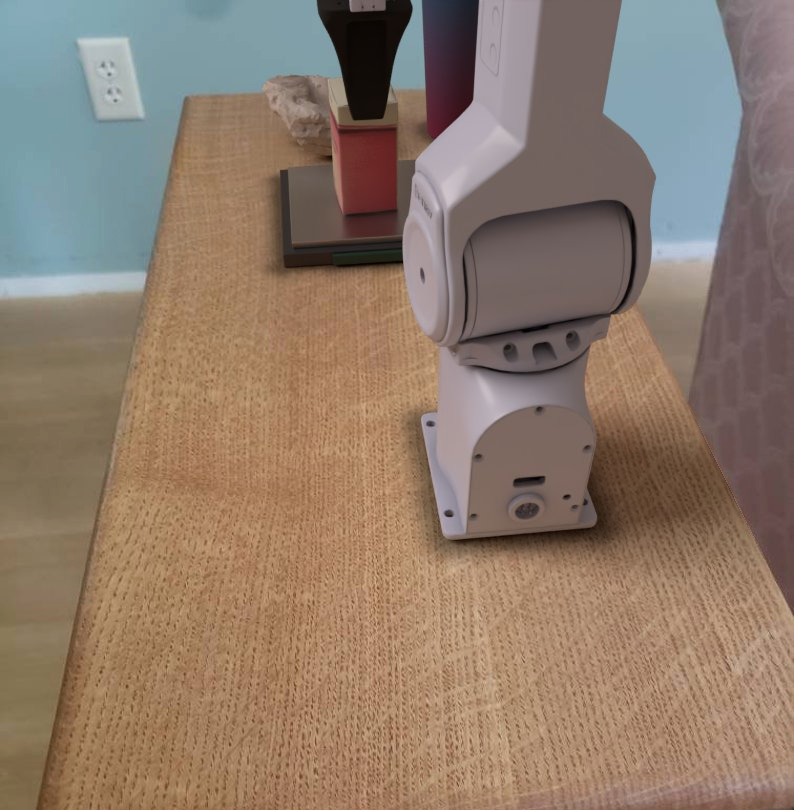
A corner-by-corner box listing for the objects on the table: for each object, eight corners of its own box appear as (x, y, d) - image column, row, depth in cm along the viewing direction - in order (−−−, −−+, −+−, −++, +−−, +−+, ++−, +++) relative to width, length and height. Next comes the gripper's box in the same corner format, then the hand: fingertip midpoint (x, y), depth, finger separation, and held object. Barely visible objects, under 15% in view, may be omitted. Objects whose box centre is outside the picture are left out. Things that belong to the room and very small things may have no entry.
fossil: (349, 72, 77) (386, 62, 68) (355, 151, 79) (392, 151, 71) (253, 77, 74) (279, 67, 66) (263, 159, 77) (289, 159, 68)
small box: (333, 185, 66) (325, 76, 60) (388, 179, 66) (386, 71, 60) (342, 217, 62) (335, 105, 57) (400, 211, 63) (399, 99, 57)
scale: (465, 258, 61) (466, 239, 60) (284, 270, 60) (282, 251, 59) (439, 171, 70) (440, 153, 69) (280, 181, 69) (278, 163, 68)
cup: (465, 155, 72) (476, -54, 61) (401, 134, 75) (400, -69, 64) (509, 126, 76) (526, -75, 65) (446, 108, 79) (452, -89, 67)
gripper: (280, -178, 53) (301, 57, 63) (285, -123, 44) (308, 144, 54) (393, -182, 54) (395, 52, 64) (422, -129, 44) (420, 137, 54)
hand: (362, 94), depth 59 cm, fingers open, 7 cm apart
